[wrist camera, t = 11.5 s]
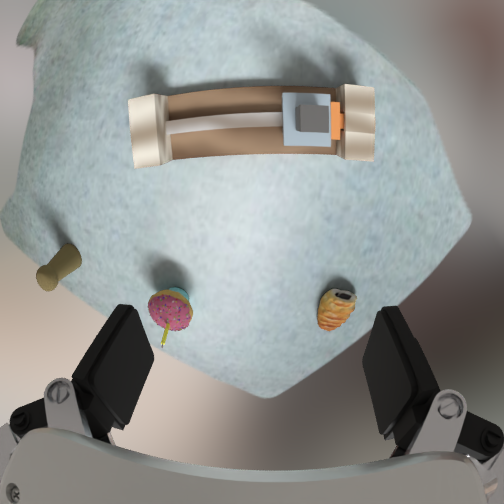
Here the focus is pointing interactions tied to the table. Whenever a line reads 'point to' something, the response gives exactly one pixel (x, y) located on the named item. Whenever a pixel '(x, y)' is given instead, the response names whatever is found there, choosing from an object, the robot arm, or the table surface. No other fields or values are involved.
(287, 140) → the carriage
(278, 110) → the rail bench
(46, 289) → the cork
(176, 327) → the cupcake
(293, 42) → the table surface
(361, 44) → the table surface
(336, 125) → the button
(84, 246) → the table surface
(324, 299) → the pastry
